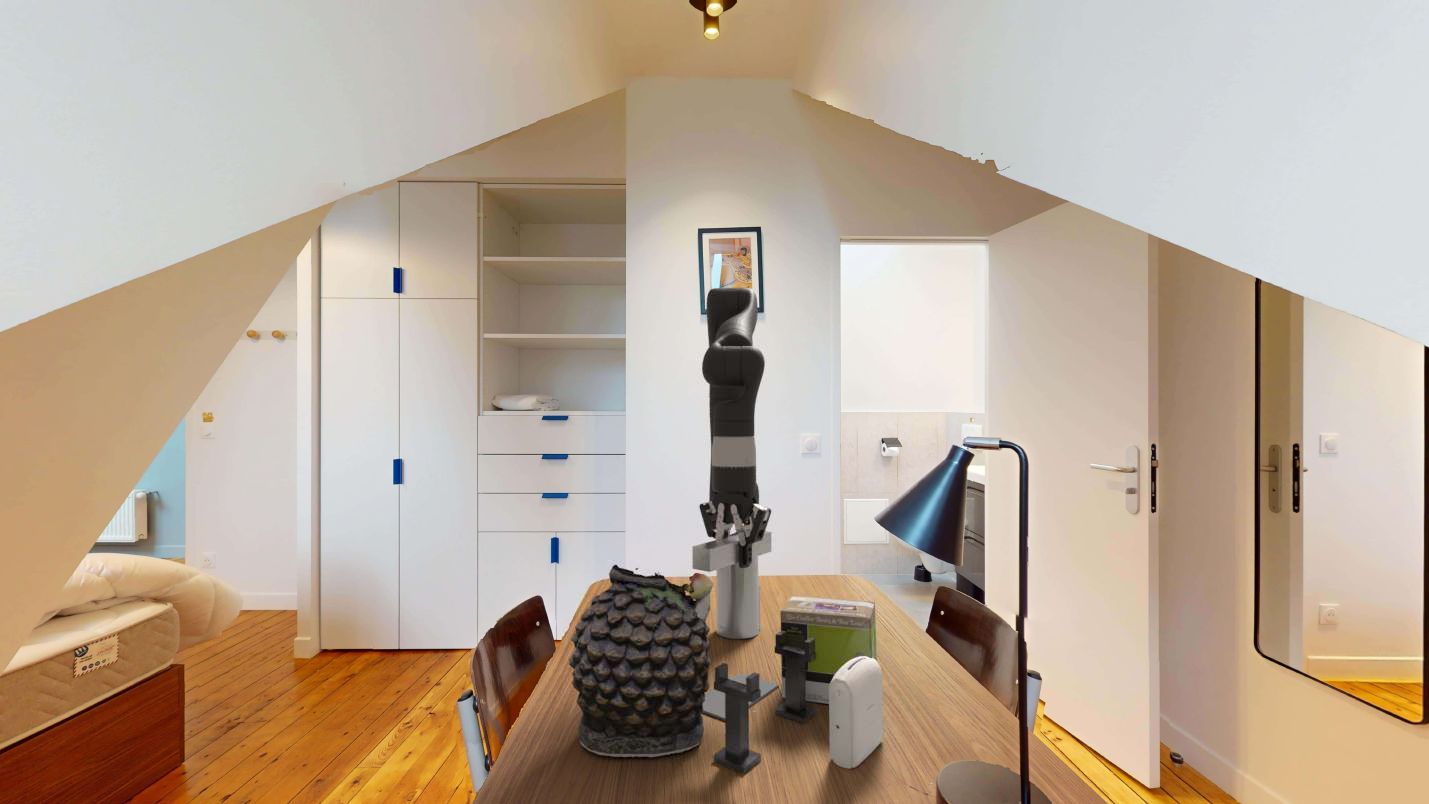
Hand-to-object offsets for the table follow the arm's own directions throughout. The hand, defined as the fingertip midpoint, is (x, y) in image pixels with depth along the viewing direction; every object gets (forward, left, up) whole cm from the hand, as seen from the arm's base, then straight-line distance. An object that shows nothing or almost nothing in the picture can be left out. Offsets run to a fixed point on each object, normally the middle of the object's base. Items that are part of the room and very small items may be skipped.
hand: (734, 565), depth 99 cm
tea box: (-11, +12, -22) cm, 27 cm away
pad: (0, 0, -22) cm, 22 cm away
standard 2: (-1, +11, -22) cm, 24 cm away
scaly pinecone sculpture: (+19, -3, -22) cm, 29 cm away
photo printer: (+3, +23, -22) cm, 32 cm away
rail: (0, 0, +1) cm, 1 cm away
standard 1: (+15, +11, -22) cm, 29 cm away
